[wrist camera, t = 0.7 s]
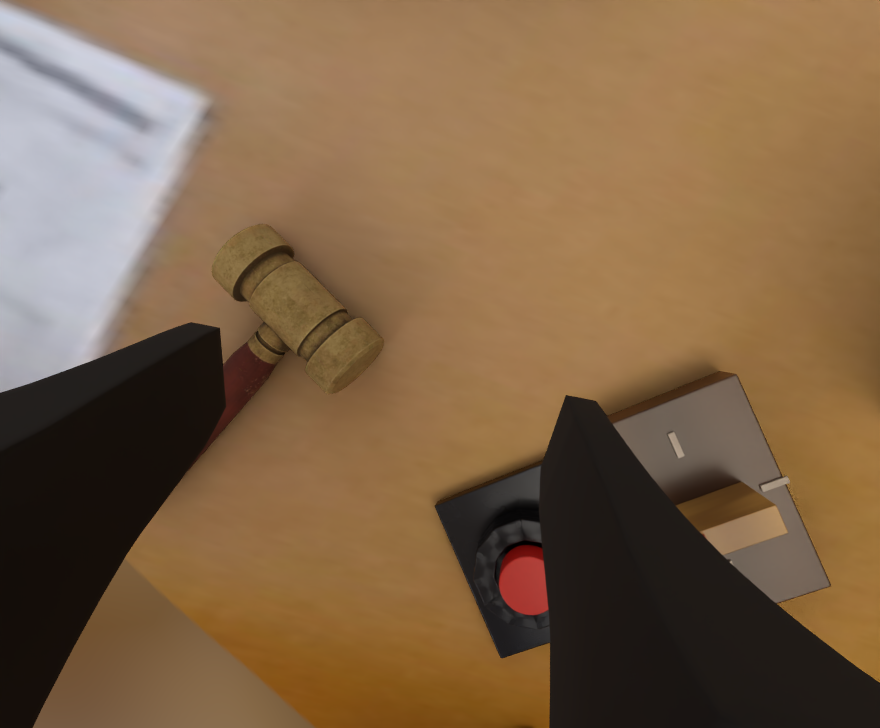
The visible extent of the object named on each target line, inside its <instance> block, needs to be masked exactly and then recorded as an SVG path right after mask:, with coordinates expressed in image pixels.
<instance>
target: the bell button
mask: <svg viewBox="0 0 880 728" xmlns="http://www.w3.org/2000/svg"><path fill="white" fill-rule="evenodd" d="M499 589H500V593H501V596H502V598H503V599H504V601H505V602H506V603H507V605H508V606H510V607H511V608H512V609H513V610H515V611H517V612H519V613H522V614H525V615H538V614H541V613H544V612H546V611H547V610H548V600H547V590H546V580H545V570H544V560H543V550H542V548H540V547H538V546H535V545H520V546H517V547H515V548H513V549H512V550H510V551H509V552H508V553H507V554H506V555H505V557H504V559H503V561H502V563H501V568H500V576H499Z"/></svg>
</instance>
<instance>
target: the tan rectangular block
mask: <svg viewBox="0 0 880 728" xmlns="http://www.w3.org/2000/svg"><path fill="white" fill-rule="evenodd" d="M676 507H677V508H678V509H679V510H680V511H681V512H682V514H683V515H684V516H685V517H686V518H687V519H688V520H689V521H690V522H691V523H692V525H693V526H694V527H695V528H696V529H697V530H698V531H699V532H700V533H701V534H702V535H703V536H704V537H705V538H706V539H707V540H708V541H709V542H710V543H711V544H712V545H713V546H714V547H715V548H716V549H717V550H718V551H719V552H720V553H721V554H722V555H725V554H728V553H731V552H734V551H737V550H740V549H743V548H746V547H749V546H751V545H754V544H757V543H760V542H763V541H766V540H769V539H772V538H775V537H778V536H781V535H784V534H787V533H788V530H787V528H786V526H785V524H784V521H783V519H782V517H781V515H780V512H779V510H778V508H777V506H776V505H775V504H774V503H772V502H771V501H770V500H768V499H767V498H765V497H764V496H762V495H761V494H759V493H758V492H756V491H755V490H753V489H752V488H751V487H749V486H748V485H746V484H745V483H743V482H739V483H737V484H734V485H731V486H728V487H726V488H723V489H720V490H717V491H714V492H712V493H709V494H706V495H703V496H701V497H698V498H695V499H692V500H690V501H687V502H684V503H681V504H679V505H676Z"/></svg>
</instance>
